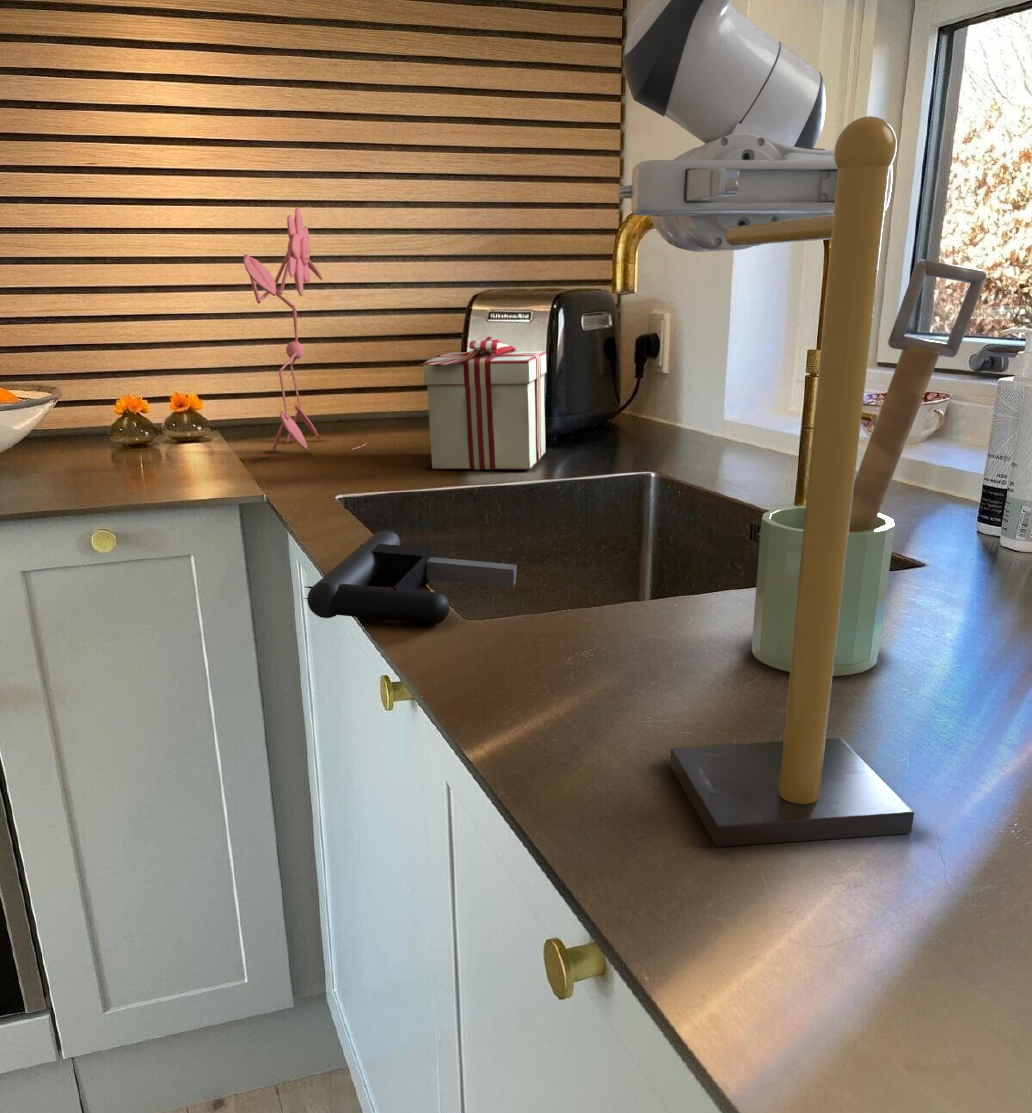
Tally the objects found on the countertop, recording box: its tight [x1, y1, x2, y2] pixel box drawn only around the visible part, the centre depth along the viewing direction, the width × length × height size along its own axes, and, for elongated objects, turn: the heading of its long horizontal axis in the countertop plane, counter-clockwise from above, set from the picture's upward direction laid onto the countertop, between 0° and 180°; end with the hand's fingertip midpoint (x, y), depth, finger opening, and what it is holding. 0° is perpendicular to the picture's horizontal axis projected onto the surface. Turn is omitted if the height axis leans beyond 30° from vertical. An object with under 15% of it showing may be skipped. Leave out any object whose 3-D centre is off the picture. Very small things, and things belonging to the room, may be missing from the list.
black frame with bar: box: [303, 529, 518, 625], centre depth 91 cm, size 3×20×16 cm
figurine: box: [242, 206, 368, 457], centre depth 161 cm, size 15×26×35 cm, turn 178°
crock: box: [751, 505, 896, 677], centre depth 74 cm, size 9×9×10 cm
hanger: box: [669, 115, 915, 848], centre depth 54 cm, size 10×19×32 cm, turn 7°
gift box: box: [419, 336, 548, 471], centre depth 149 cm, size 17×18×17 cm
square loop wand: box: [849, 259, 988, 532], centre depth 69 cm, size 5×4×26 cm
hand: (792, 181), depth 75 cm, fingers open, 8 cm apart
